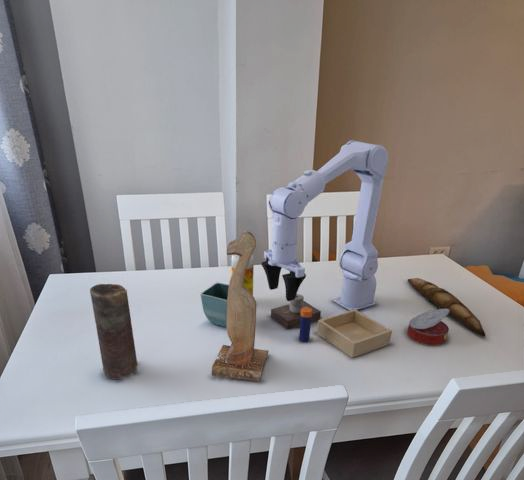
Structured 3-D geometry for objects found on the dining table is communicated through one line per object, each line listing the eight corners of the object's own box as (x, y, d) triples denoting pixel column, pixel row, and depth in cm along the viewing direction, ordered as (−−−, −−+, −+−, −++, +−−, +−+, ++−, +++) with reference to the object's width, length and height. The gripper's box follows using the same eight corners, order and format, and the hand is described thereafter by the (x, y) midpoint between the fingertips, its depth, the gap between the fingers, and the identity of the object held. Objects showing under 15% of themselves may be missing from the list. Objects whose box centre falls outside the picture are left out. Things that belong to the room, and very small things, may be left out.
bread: (400, 282, 153) (403, 268, 151) (413, 281, 155) (416, 266, 152) (476, 340, 122) (481, 323, 120) (492, 338, 124) (498, 321, 121)
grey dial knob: (297, 306, 131) (298, 291, 129) (305, 311, 128) (306, 296, 126) (286, 308, 129) (287, 294, 127) (294, 314, 127) (295, 299, 124)
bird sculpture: (220, 351, 114) (217, 219, 97) (268, 355, 113) (274, 222, 97) (211, 378, 105) (206, 236, 88) (264, 382, 104) (269, 240, 87)
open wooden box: (352, 322, 129) (354, 309, 127) (389, 344, 119) (392, 330, 117) (316, 333, 123) (318, 320, 121) (352, 358, 113) (354, 343, 111)
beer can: (250, 309, 134) (251, 258, 126) (229, 307, 135) (228, 256, 127) (254, 300, 139) (255, 251, 131) (234, 298, 140) (234, 249, 132)
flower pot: (245, 318, 129) (246, 288, 124) (230, 332, 122) (230, 301, 117) (217, 311, 132) (216, 281, 127) (200, 325, 125) (199, 293, 121)
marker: (305, 335, 122) (307, 306, 117) (311, 340, 120) (314, 310, 115) (296, 338, 121) (298, 308, 116) (302, 343, 119) (305, 313, 114)
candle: (107, 361, 109) (93, 280, 98) (140, 361, 110) (130, 280, 99) (100, 381, 102) (85, 296, 92) (135, 380, 103) (124, 296, 93)
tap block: (302, 308, 135) (303, 299, 134) (320, 319, 130) (321, 310, 128) (270, 317, 130) (271, 308, 129) (287, 329, 125) (288, 320, 123)
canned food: (427, 361, 122) (423, 337, 115) (401, 339, 129) (396, 315, 121) (461, 336, 123) (460, 310, 115) (434, 316, 130) (431, 291, 122)
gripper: (254, 235, 115) (253, 286, 122) (288, 253, 105) (285, 309, 112) (278, 231, 119) (275, 281, 126) (313, 248, 108) (309, 302, 115)
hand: (281, 294), depth 119 cm, fingers open, 7 cm apart
